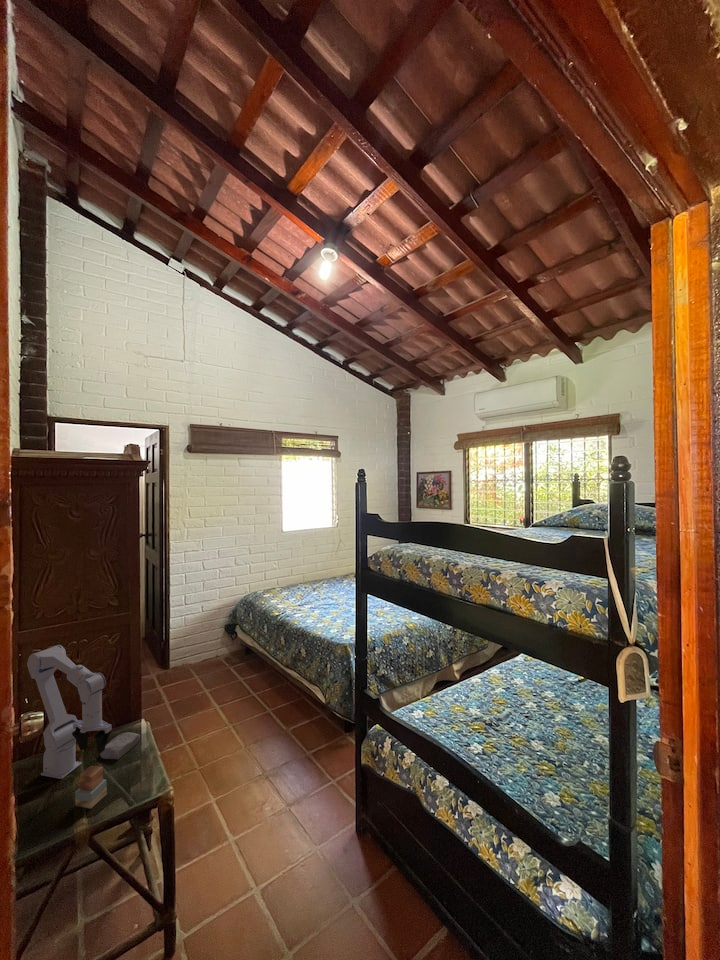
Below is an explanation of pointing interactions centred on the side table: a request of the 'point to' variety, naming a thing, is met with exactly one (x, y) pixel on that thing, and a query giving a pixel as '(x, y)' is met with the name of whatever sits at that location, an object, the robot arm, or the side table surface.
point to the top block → (90, 792)
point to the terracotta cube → (91, 778)
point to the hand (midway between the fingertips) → (92, 750)
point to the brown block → (90, 804)
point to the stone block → (120, 745)
